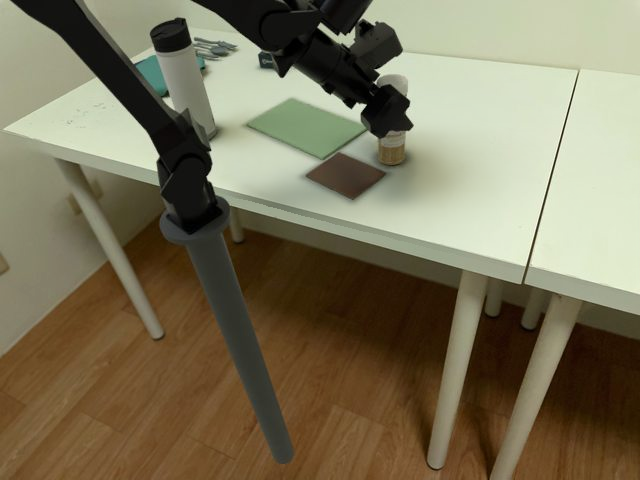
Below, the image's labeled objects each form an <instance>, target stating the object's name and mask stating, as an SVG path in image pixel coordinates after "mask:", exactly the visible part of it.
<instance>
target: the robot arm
mask: <svg viewBox="0 0 640 480" xmlns="http://www.w3.org/2000/svg"><path fill="white" fill-rule="evenodd" d="M9 1H10V2H11V3H12V4H14V5H15V6H16V7H17V8H18V9H19V10H21V11H22V12H23V13H24V14H26V15H27V16H28V17H30V18H31V19H32V20H35V21H36V22H38V23H40V25H43V26H44V27H45V28H47V29H49V30H51V31H52V32H54V33H55V34H56V35H58V36H59V37H60V38H61V40H63V41H64V43H65V44H67V46H68V47H69V48H70V49H71V51H73V52H74V53H75V55H76V56H77V57H78V58H79V59H80V60H81V61H82V62H83V64H85V66H86V67H87V68H88V69H89V70H90V71H91V72H92V73H93V75H94V76H95V77H96V78H97V79H98V80H99V81H100V82H101V83H102V84H103V85H104V86H105V88H106V89H107V90H108V91H109V92H110V93H111V95H113V97H114V98H115V99H116V100H117V101H118V102H119V103H120V104H121V106H122V107H124V108H125V110H126V111H127V112H128V113H129V114H130V116H132V117H133V119H135V121H136V122H137V123H138V124H139V125H140V126H141V128H143V130H144V131H145V132H146V133H147V135H148V137H149V139H150V140H151V143H152V145H153V147H154V148H155V150H156V152H157V155H158V156H159V157H158V158H157V159H156V161H155V164H156V170H157V180H158V185H159V186H158V187H159V189H158V192H159V194H160V196H161V198H162V201H163V204H164V206H165V208H166V209H167V210H168V214H167V215H166V218H167V220H169V221H170V222H171V223H173V224H174V225H176V226H177V227H178V228H180V229H181V230H182V231H184V232H185V233H186V234H188V235H191V234H193V233H194V232H196V231H197V230H199V229H200V228H202V227H204V226H205V225H207V224H208V223H210V222H211V221H213V220H214V219H216V218H217V217H219V216H220V215H222V214H223V210H222V209H221V208H220V207H218V206H216V205H217V204H218V201H217V198H216V195H217V194H216V191H215V188H214V186H213V182H211V181H210V180H209V179H208V176H209V175H210V172H211V171H212V168H213V165H214V164H213V159H212V156H211V152H212V147H211V144H210V139H209V140H208V137H207V134H206V131H205V128H204V127H203V126H202V125H200V124H199V123H197V122H196V121H195V119H194V117H193V116H192V114H191V112H190V110H189V108H186V109H185V110H184V111H183V112H182V113H178V112H177V111H175V109H173V108H172V107H170V106H169V105H168V104H167V103H166V101H165V100H164V98H162V96H159V94H158V93H157V92H156V91H155V89H154V88H153V87H152V86H151V85H150V83H149V82H148V81H147V80H146V78H145V77H144V76H143V75H142V74H141V72H140V71H139V70H138V69H137V67H136V66H135V65H134V64H135V63H133V61H132V60H131V59H130V58H129V56H128V55H127V54H126V53H125V52H124V50H123V49H122V48H121V47H120V45H119V44H118V43H117V42H116V40H115V39H114V38H113V37H112V36H111V34H110V33H109V32H108V31H107V30H106V28H105V27H104V26H103V25H102V24H101V22H100V21H99V20H98V18H97V17H96V16H95V15H94V14H93V12H92V11H91V10H90V8H89V7H88V6H87V4H86V1H85V0H9ZM373 1H374V0H190V2H193V3H195V4H197V5H198V6H201V7H202V8H205V9H206V10H208V11H210V12H213V13H214V14H216V15H217V16H218V17H220V18H221V19H222V20H223V21H224V22H226V23H227V24H229V25H230V26H231V27H232V28H233V29H234V30H235V31H237V32H238V33H239V34H240V35H241V36H243V37H244V38H246V39H247V40H248V41H250V42H251V43H252V44H254V45H255V46H256V47H258V48H259V49H260V48H261V49H262V50H264V51H267V52H270V55H271V57H272V60H273V68H274V69H273V70H274V71H275V73H276V74H277V75H278V77H279V78H280V79H284V78H285V77H286V76H287V74H288V73H289V71H290V70H291V68H294V69H295V70H296V71H298V72H300V73H301V74H303V75H304V76H305V77H307V78H309V79H310V80H311V81H313V82H315V83H316V84H317V85H319V86H320V87H321V89H322V90H323V91H324V92H325V93H326V94H328V95H329V96H331V95H333V96H335V97H336V98H337V99H339V100H341V102H342V103H343V104H344V105H345V106H346V108H349V109H350V110H353V109H354V107H356V105H357V104H358V105H365V106H364V107H363V109H362V110H361V111H360V115H359V116H360V124H361V125H364V126H365V127H366V128H367V130H366V131H368V132H369V133H370V134H371V135H372V136H374V137H376V138H377V139H378V138H379V139H382V138H385V136H386V135H387V134H388V133H389V131H406V132H410V131H411V130H412V129H413V128H414V126H415V125H414V123H413V122H412V120H411V119H410V118H409V117H408V115H407V113H406V114H405V111H406V112H407V110H408V109H409V108H410V107H411V100H410V99H409V98H408V96H406V97H405V96H404V95H403V94H402V93H401V92H400V91H399V90H397V89H396V88H395V87H394V86H392V85H391V84H387V85H383V86H381V87H380V88H379V87H378V86H377V85H376V83H375V82H377V80H378V79H379V78H380V77H381V73H380V72H378V71H377V70H379V69H381V68H382V67H384V66H385V65H386V64H387V63H389V62H390V61H392V60H393V59H394V58H398V57H399V56H401V55H402V53H403V51H404V47H403V46H402V43H401V41H400V39H399V37H398V34H397V32H396V30H395V29H394V27H392V26H390V25H389V24H387V23H386V22H384V21H381V22H379V21H378V20H375V22H374V24H373V23H371V22H370V21H368V20H366V19H365V18H362V17H363V15H364V14H365V13H366V11H367V10H368V9H369V7H371V4H372V3H373ZM320 25H323V26H324V27H325V28H327V29H328V30H329V31H330V32H331V33H333V34H334V35H335V36H337V37H339V36H340V34H342V36H345V37H347V35H348V34H349V35H350V34H351V33H352V31H353V30H354V38H353V41H354V42H353V43H352V44H351V45H350V46H347V45H346V44H345V43H344V42H341V43H340V42H337V41H336V40H335V39H334V38H332V37H331V36H330V35H328V34H327V33H326V32H324V30H322V29H321V28H319V27H320ZM261 49H260V50H261Z"/></svg>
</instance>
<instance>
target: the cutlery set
mask: <svg viewBox="0 0 640 480" xmlns="http://www.w3.org/2000/svg"><path fill="white" fill-rule="evenodd" d="M193 41H194V42H192V43H193V46H194V48H200V49H204V50H208V51H209V52H210V53H212V54H210V53H205V52H200V51H198V49H196V50H195V53H196V57H197V60H198V64H199V67H200V71H201V72H202V70H205V69H206V64H205V63H206V61H205V59H204V58H203V57H205V58H210V59H219V58H220V55H221V54H222V55H223V54H225V53H227V52H228V51H229V49H235V48H237V47H238V45H235V44H232V43H229V42H226V41H224V40H222V41H221V40H217V41H216V40H215V41H213V40H208V39H205V38H202V37H198V36H195V37H193ZM195 42H199V43H203V44H207V45H217V46H212V47H207V46H204V45H201V44H198V43H195ZM133 64H134V65H135V66H136V67H137V69H138V70H139V71H140V72H141V74H142V75H143V76H144V77H145V78H146V80H147V81H148V82H149V83H150V85H151V86H152V87H153V88H154V89H155V91H156V92H157V93H158V94H159V96H160V97H163V96H164V95H166V93H167V92H168V88H167V85H166V82H165V79H164V76H163V73H162V70H161V68H160V65H159V62H158V59H157V56H156V54H152V55H150V56H148V57H146V58H145V59H144V58H143V59H142V60H139V61H137V62H135V63H133Z"/></svg>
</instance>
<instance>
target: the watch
mask: <svg viewBox="0 0 640 480" xmlns="http://www.w3.org/2000/svg"><path fill="white" fill-rule="evenodd" d="M259 49H260V52H258V54H257V57H258V63H259V67H260V69H271V70H272V69H273V70H274V68H273V60H272V57H271V55H270V52H267V51H264V50H262V49H261V48H259Z"/></svg>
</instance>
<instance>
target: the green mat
mask: <svg viewBox="0 0 640 480" xmlns="http://www.w3.org/2000/svg"><path fill="white" fill-rule="evenodd" d="M246 126H247V127H249V128H251V129H253V130H256V131H257V132H260V133H262V134H264V135H266V136H269V137H270V138H273V139H275V140H277V141H279V142H282V143H284V144H286V145H288V146H291V147H293V148H295V149H297V150H300V151H301V152H304V153H306V154H308V155H310V156H313V157H315V158H317V159H320V160H321V161H322V160H323V161H324V160H325V159H327V157H329V156H331V155H332V154H334V153H335V152H336V151H338V150H339V149H342V147H344V146H345V145H347V144H348V143H350V142H351V141H353V140H355V138H357V137H358V136H360V135H362V134H363V133H364V132H366V131H368V130H367V128H366V127H365V126H364V125H363V124H362V123H358V122H356V121H353V120H350V119H348V118H345V117H344V116H343V117H342V116H340V115H337V114H335V113H331V112H329V111H326V110H323V109H321V108H318V107H315V106H313V105H310V104H308V103H305V102H302V101H299V100H298V99H294V98H289V99H288V100H286V101H284V102H282V103H280V104H278V105H277V106H275V107H273V108H272V109H269V110H268V111H266V112H265V113H263V114H261V115H259V116H257V117H255V118H254V119H252V120H251V121H248V122H247V123H246Z"/></svg>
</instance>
